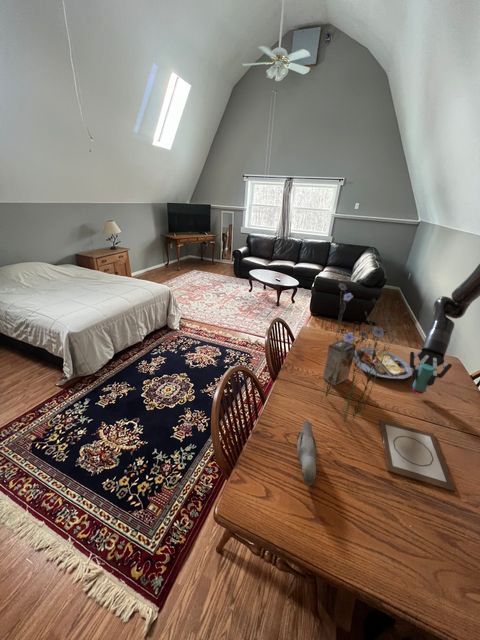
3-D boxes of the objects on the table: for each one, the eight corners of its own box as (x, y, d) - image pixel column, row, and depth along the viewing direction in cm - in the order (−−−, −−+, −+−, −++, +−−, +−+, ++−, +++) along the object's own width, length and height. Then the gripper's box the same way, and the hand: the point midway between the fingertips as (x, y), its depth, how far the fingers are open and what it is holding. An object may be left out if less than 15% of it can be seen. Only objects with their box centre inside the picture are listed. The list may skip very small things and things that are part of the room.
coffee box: (335, 370, 117) (342, 338, 110) (348, 378, 112) (357, 345, 106) (321, 377, 112) (329, 344, 105) (334, 386, 107) (343, 352, 100)
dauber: (422, 388, 106) (432, 364, 101) (425, 395, 102) (436, 371, 97) (410, 385, 107) (419, 362, 102) (412, 392, 103) (422, 368, 98)
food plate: (345, 349, 134) (346, 343, 132) (392, 352, 133) (394, 346, 132) (364, 381, 111) (366, 374, 110) (420, 384, 111) (423, 377, 109)
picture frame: (432, 434, 87) (433, 433, 87) (454, 492, 70) (455, 490, 70) (379, 420, 92) (379, 419, 91) (387, 471, 74) (388, 470, 74)
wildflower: (387, 419, 92) (433, 296, 73) (344, 447, 81) (385, 310, 62) (336, 382, 109) (362, 275, 90) (294, 401, 98) (314, 283, 79)
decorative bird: (297, 486, 69) (301, 467, 66) (294, 436, 84) (297, 418, 81) (318, 490, 69) (323, 470, 66) (312, 439, 83) (315, 421, 80)
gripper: (416, 333, 105) (401, 372, 102) (461, 346, 97) (446, 388, 94) (414, 340, 111) (399, 377, 108) (456, 352, 103) (442, 393, 100)
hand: (421, 382), depth 101 cm, fingers closed on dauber, 4 cm apart
